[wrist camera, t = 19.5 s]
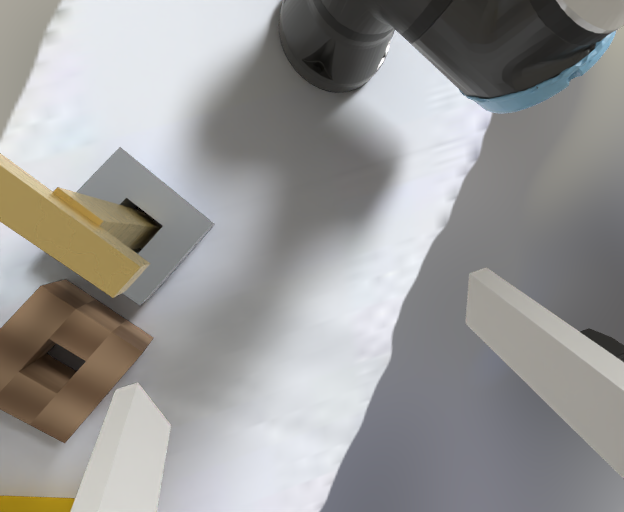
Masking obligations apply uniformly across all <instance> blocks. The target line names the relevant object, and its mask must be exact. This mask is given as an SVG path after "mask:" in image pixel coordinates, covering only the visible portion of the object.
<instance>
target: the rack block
mask: <svg viewBox="0 0 624 512" xmlns="http://www.w3.org/2000/svg"><path fill="white" fill-rule="evenodd" d="M76 193H80V194H84V195H87V196H91V197H94V198H98V199H101V200H105V201H108V202H112V203H116V204H119V205H123V206H126V207H130V208H133V209H134V208H135V207H136V205H137V206H138V207H139V208H141V209H142V210H143V211H144V212H146V213H147V214H148V215H150V216H151V217H152V218H153V219H155V220H156V221H157V222H159V223H160V224H161V225H162V226H163V227H162V228H161V229H160V230H159V231H158V232H157V233H156V234H155V236H154V237H153V238H152V239H151V240H150V241H149V242H148V243H147V244H146V245H145V247H144V248H143V249H142V250H141V251H139V250H138V249H132V250H133V251H134V252H136V253H137V254H138V255H140V256H141V257H142V258H144V259H145V260H147V261H148V262H149V263H151V264H150V265H149V266H148V267H147V268H146V269H145V270H144V271H143V272H142V274H141V275H140V276H139V277H138V278H137V279H136V280H135V281H134V283H133V284H132V285H131V286H130V287H129V288H128V289H127V290H126V291H125V292H123V293H122V294H124V295H125V296H127V297H128V298H130V299H131V300H132V301H134V302H135V303H137V304H138V305H141V304H143V303H144V302H145V301H146V300H148V299H149V298H150V297H151V296H152V295H153V294H154V293H155V292H156V290H157V289H158V288H159V287H160V286H161V285H162V284H163V283H164V281H165V280H166V279H167V278H168V277H169V276H170V275H171V273H172V272H173V271H174V270H175V269H176V268H177V267H178V266H179V264H180V263H181V262H182V261H183V260H184V259H185V258H186V256H187V255H188V254H189V253H190V252H191V251H192V250H193V248H194V247H195V246H196V245H197V244H198V243H199V242H200V241H201V239H202V238H203V237H204V236H205V235H206V234H207V233H208V231H209V230H210V229H211V228H212V227H213V226H214V225H215V224H214V223H213V222H211V221H210V220H209V219H208V218H206V217H205V216H204V215H203V214H202V213H200V212H199V211H198V210H197V209H195V208H194V207H193V206H192V205H190V204H189V203H188V202H187V201H186V200H184V199H183V198H182V197H181V196H179V195H178V194H177V193H176V192H175V191H173V190H172V189H171V188H170V187H168V186H167V185H166V184H165V183H164V182H162V181H161V180H160V179H159V178H157V177H156V176H155V175H154V174H153V173H151V172H150V171H149V170H148V169H146V168H145V167H144V166H143V165H142V164H140V163H139V162H138V161H137V160H135V159H134V158H133V157H132V156H131V155H129V154H128V153H127V152H126V151H124V150H123V149H122V148H121V147H120V148H119V149H118V150H117V151H116V152H115V153H114V154H113V155H112V156H111V157H110V158H109V159H108V160H107V161H106V162H105V163H104V164H103V165H102V166H101V167H100V168H99V169H98V170H97V171H96V172H95V173H94V174H93V175H92V176H91V178H90V179H89V180H88V181H87V182H86V183H85V184H84V185H83V186H82V187H81V188H80V189H79V190H78V191H77V192H76Z"/></svg>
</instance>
